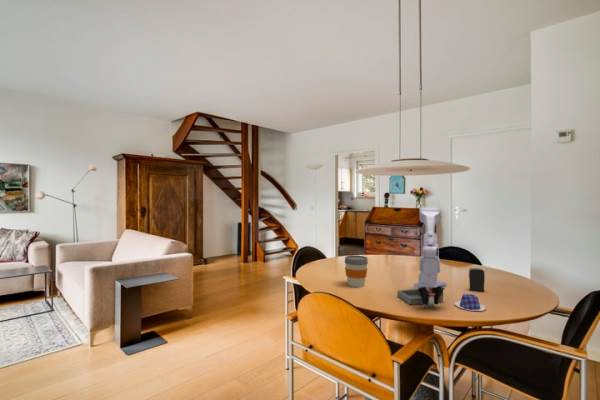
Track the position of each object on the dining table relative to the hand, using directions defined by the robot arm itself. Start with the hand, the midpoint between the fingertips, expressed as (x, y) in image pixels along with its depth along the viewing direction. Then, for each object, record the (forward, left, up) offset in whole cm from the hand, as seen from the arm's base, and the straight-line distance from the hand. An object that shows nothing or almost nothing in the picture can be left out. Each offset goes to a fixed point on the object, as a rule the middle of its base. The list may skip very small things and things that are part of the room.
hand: (430, 304), depth 132 cm
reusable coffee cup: (-38, -20, -2) cm, 43 cm away
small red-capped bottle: (0, 0, -2) cm, 2 cm away
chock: (-7, +7, -2) cm, 10 cm away
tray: (-10, -2, -2) cm, 10 cm away
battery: (-18, +38, -2) cm, 42 cm away
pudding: (+2, +18, -2) cm, 18 cm away
